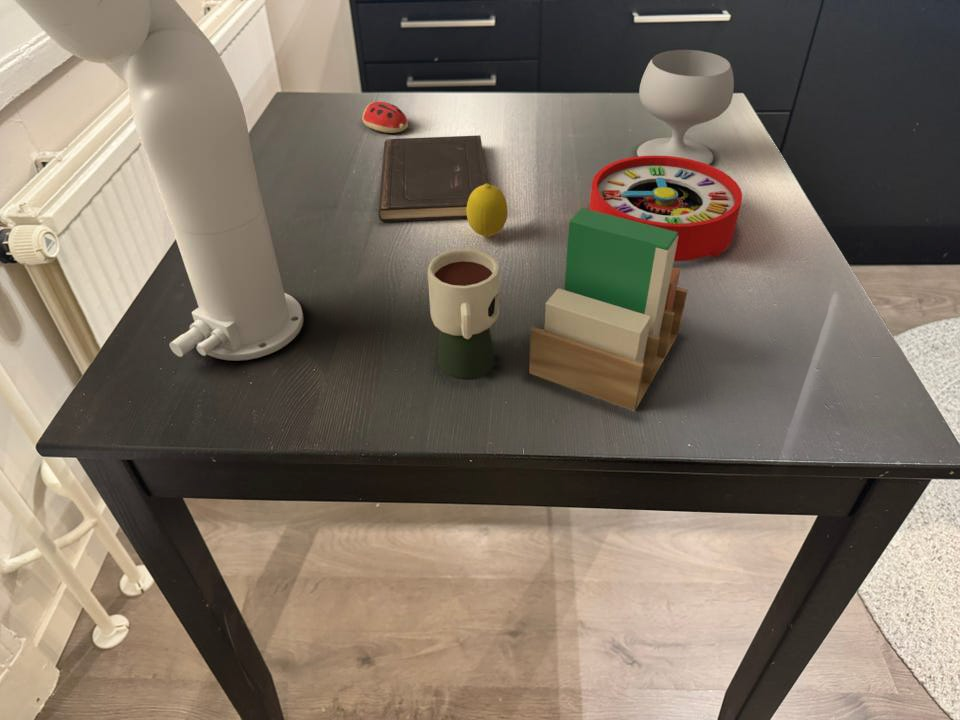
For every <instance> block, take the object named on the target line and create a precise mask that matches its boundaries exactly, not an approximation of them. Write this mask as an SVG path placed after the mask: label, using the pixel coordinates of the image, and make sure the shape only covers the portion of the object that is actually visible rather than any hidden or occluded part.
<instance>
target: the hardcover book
mask: <svg viewBox="0 0 960 720" xmlns="http://www.w3.org/2000/svg"><path fill="white" fill-rule="evenodd" d="M483 150H484V149H483V143H482V137H481V135H479V134H478V135H477V134H476V135H457V136H455V135H453V136H432V137H431V136H429V137H405V138H404V137H403V138H387V139H386V140H385V141H384V144H383V154H382V155H383V156H382V167H381V177H380V188H379V189H380V190H379V202H378V219H379V221H380V222H382V223H400V222H401V223H402V222H420V221H421V222H422V221H423V222H425V221H446V220H448V221H449V220H468V219H467V203H468V199H469V197H470V194H471V193H472V192H473V191H474V190H475V189H476V188H477V187H479V186H482V185H484V184H489V183H488V176H487V170H486V164H485V157H484V151H483Z"/></svg>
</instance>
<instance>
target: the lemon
mask: <svg viewBox="0 0 960 720" xmlns="http://www.w3.org/2000/svg"><path fill="white" fill-rule="evenodd" d="M507 219H508V203H507V199H506V197H505V195H504V193H503V191H502V190H501V189H500V188H498V187H496V186H495V185H492V184H489V183H488V184H484V185H482V186H479V187H477V188H476V189H475V190H474V191H473V192H472V193H471V194H470V197H469V199H468V203H467V219H466V220H467V222H468V225H469V227H470V229H471V230H472V231H474V232H475V233H476V234H478V235H479V236H482V237H484V238H490V237H491V236H495V235H496V234H498V233H499V232H500V231H502V230H503V228H504V227H505V225H506V223H507Z"/></svg>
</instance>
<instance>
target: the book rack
mask: <svg viewBox="0 0 960 720" xmlns="http://www.w3.org/2000/svg"><path fill="white" fill-rule="evenodd" d="M688 291H689V289H687V288H683V287H679V286H677V290H676V295H675V300H674V305H673V310H672V312H671V311H668V310H665V309H664V314H663V319H662V324H661V329H660V335H659V336H655V335H652V334H649V333H648V338H647V343H646V349H645V354H644V360H643V363H641V362H638V361H635V360H632V359H629V358H626V357H623V356H620V355H617V354H614V353H611V352H608V351H605V350H602V349H599V348H596V347H593V346H590V345H587V344H584V343H581V342H578V341H575V340H572V339H569V338H566V337H563V336H560V335H557V334H554V333H551V332H548V331H545V330H544V329H541V328H538V327H535V326H532V327H531V328H530V344H529V364H528V365H529V367H528V371H529V372H528V374H529V375H532V376H535V377H537V378H541V379H544V380H546V381H549V382H552V383H554V384H557V385H560V386H563V387H566V388H569V389H571V390H573V391H577V392H580V393H582V394H585V395H588V396H591V397H593V398H597V399H599V400H602V401H605V402H608V403H610V404H613V405H616V406H619V407H621V408H625V409H627V410H630V411H632V412H635V411H636V410H637V409H638V406H639V404H640V403H641V401H642V400H643V397H644V396H645V394H646V392H647V391H648V388H649V387H650V385H651V383H652V382H653V380H654V378H655V376H656V374H657V373H658V371H659V369H660V367H661V365H662V364H663V362H664V360H665V358H666V356H667V355H668V353H669V351H670V350H671V348H672V346H673V345H674V343H675V341H676V339H677V337H678V335H679V333H680V329H681V324H682V320H683V316H684V311H685V306H686V301H687V297H688V293H689V292H688Z"/></svg>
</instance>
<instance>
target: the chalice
mask: <svg viewBox="0 0 960 720" xmlns="http://www.w3.org/2000/svg"><path fill="white" fill-rule="evenodd" d="M734 88H735V80H734V72H733V68H732V66H731V63H730V62H729V60H728V59H726V58H724V57H723V56H721V55H719V54H718V55H717V54H715V53H712V52H709V51H708V52H707V51H703V50H695V49H674V50H668V51H667V50H666V51H664V52H663V51H662V52H660V53H658V54H655V55H654V56H653V57H652V58H651V59H650V61H649V62H648V64H647V66H646V68H645V70H644V73H643V75H642V77H641V81H640V84H639V90H638V91H639V92H638V93H639V94H638V95H639V99H640V102H641V105H642V106H643V107H644V110H646V111H647V112H648V113H649V114H651V116H653V117H655V118H657V119H658V120H660V121H662V122H664V123H665V124H667V125H668V127H669V128H670V130H671V137H658V138H654V139H650V140H648V141H645V142H643V143H641V144H640V145H639V146H638V148H637V149H636V154H637V155H636V156H651V155H658V156H673V157H681V158H686V159H691V160H695V161H698V162H702V163H705V164H707V165H711V164H712V163H713V160H714V155H713V153H712V152H711V150H710V149H709V148H708V147H706V146H705V145H703V144H701V143H699V142H697V141H695V140H691V139H687V138H686V139H685V137H684V136H685V134H686V133H687V132H688V130H689V129H691V128H693V127H695V126H696V125H700V124H704V123H707V122H710V121H713V120H715V119H716V118H718V117H720V116H721V115H723V113H724V112H726V111H727V109H728V108H729V107H730V106H731V104H732V100H733V97H734V91H735V90H734Z"/></svg>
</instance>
